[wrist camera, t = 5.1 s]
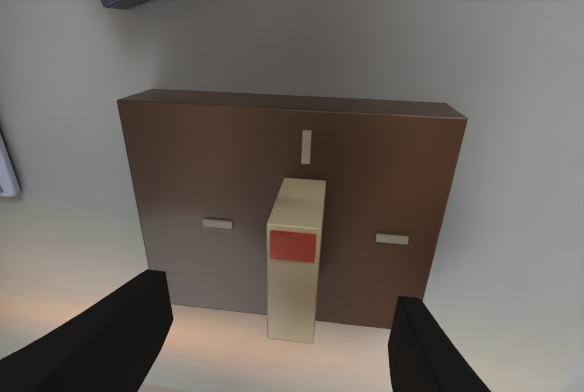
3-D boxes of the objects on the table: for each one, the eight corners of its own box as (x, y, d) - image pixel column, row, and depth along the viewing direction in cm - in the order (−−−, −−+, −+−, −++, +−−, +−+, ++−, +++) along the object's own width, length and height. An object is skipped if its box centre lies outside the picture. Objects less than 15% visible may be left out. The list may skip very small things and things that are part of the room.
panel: (177, 269, 22) (153, 304, 19) (151, 88, 17) (113, 100, 14) (405, 292, 20) (415, 335, 18) (446, 102, 16) (470, 119, 13)
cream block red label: (319, 278, 17) (312, 349, 13) (282, 274, 17) (265, 343, 13) (326, 180, 15) (321, 232, 11) (284, 177, 15) (264, 227, 11)
